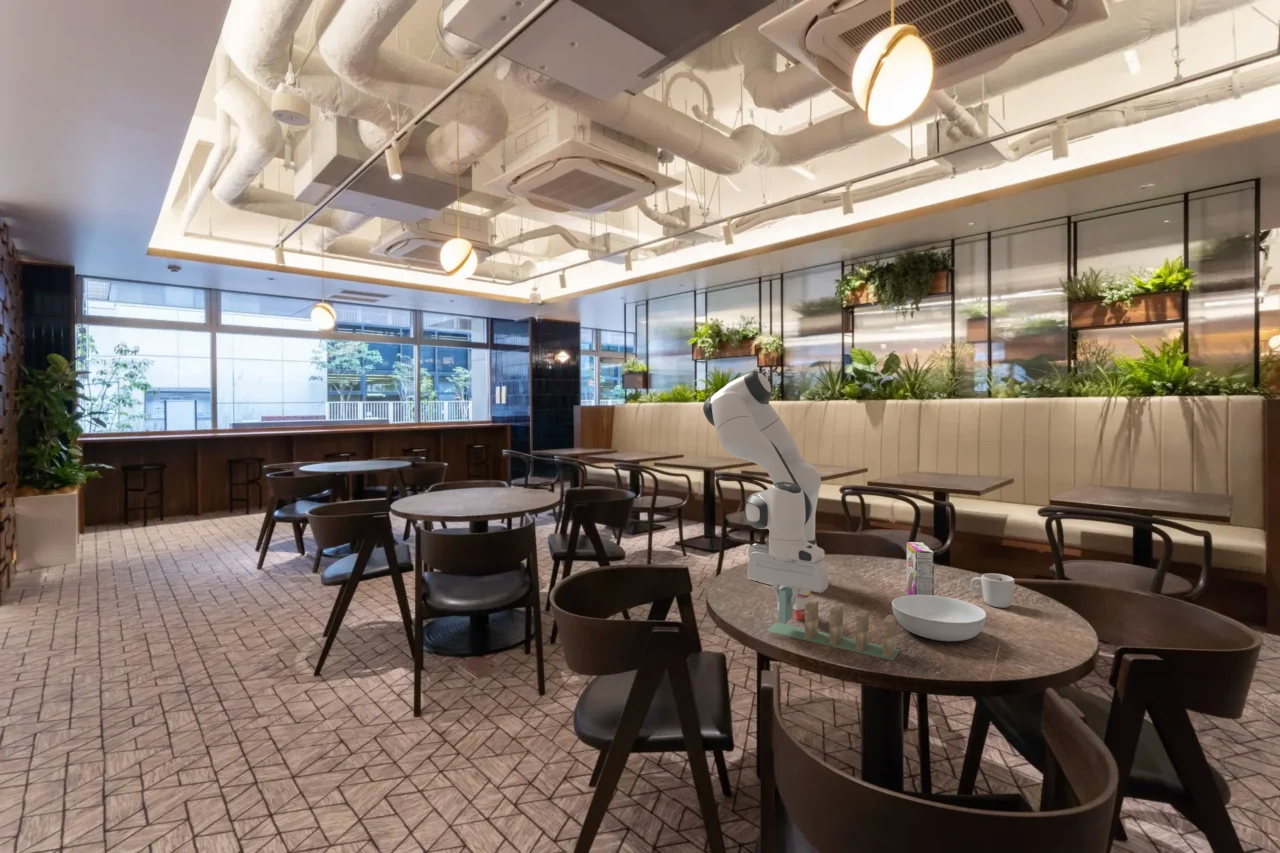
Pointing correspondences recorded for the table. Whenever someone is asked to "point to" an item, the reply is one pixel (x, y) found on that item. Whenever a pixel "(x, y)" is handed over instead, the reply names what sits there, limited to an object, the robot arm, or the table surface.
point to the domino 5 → (889, 635)
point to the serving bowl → (939, 617)
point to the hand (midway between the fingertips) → (786, 602)
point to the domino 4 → (862, 630)
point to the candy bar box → (920, 569)
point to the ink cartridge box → (800, 603)
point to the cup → (995, 589)
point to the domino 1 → (785, 604)
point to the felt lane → (825, 639)
